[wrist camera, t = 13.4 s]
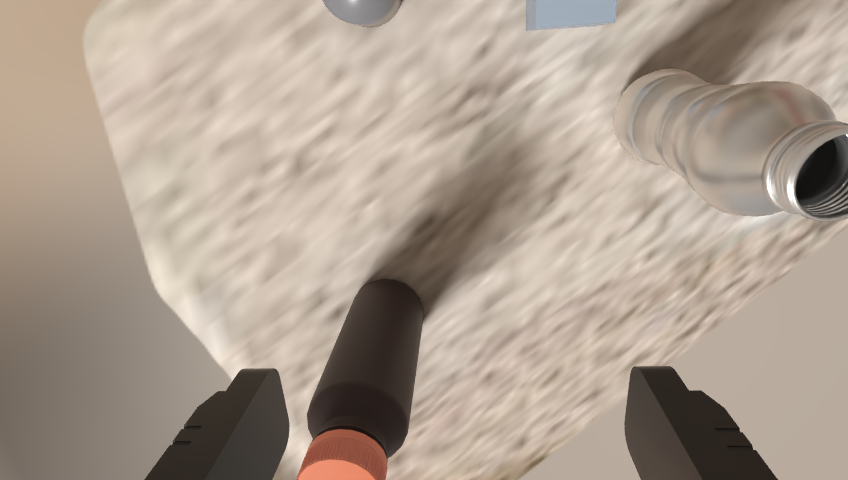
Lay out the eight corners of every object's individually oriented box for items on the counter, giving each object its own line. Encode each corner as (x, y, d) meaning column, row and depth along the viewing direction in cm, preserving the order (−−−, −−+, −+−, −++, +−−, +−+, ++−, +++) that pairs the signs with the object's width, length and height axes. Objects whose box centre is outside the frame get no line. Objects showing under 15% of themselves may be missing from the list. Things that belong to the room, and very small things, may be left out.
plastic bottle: (705, 73, 35) (976, 98, 17) (675, 162, 38) (881, 267, 19) (619, 61, 35) (795, 72, 17) (595, 150, 38) (725, 244, 19)
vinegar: (372, 265, 43) (307, 425, 25) (436, 298, 44) (420, 478, 26) (341, 320, 46) (261, 504, 27) (403, 350, 46) (366, 549, 28)
